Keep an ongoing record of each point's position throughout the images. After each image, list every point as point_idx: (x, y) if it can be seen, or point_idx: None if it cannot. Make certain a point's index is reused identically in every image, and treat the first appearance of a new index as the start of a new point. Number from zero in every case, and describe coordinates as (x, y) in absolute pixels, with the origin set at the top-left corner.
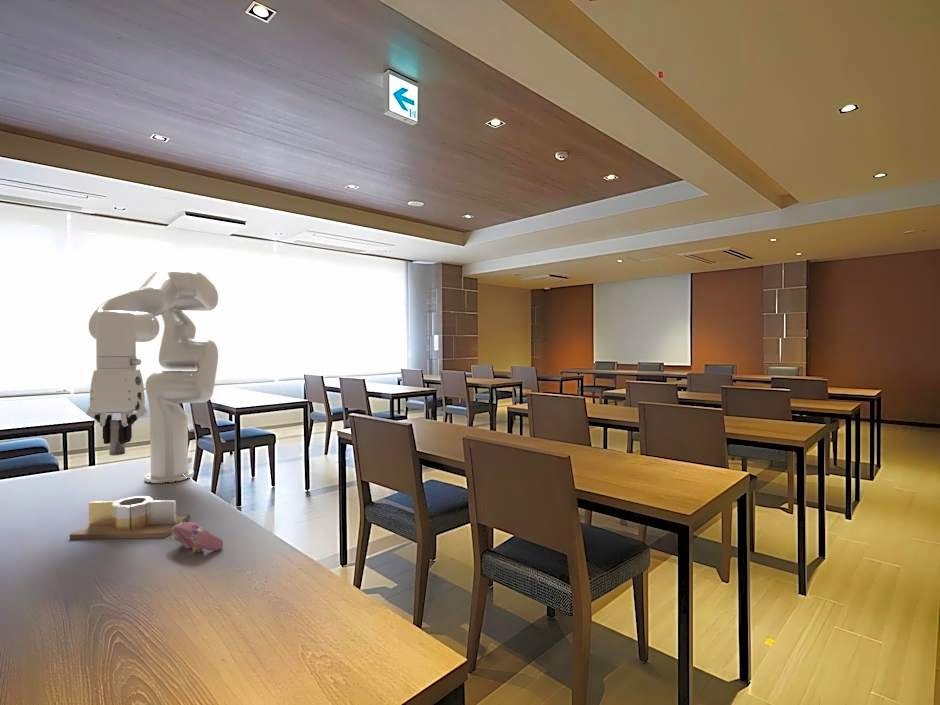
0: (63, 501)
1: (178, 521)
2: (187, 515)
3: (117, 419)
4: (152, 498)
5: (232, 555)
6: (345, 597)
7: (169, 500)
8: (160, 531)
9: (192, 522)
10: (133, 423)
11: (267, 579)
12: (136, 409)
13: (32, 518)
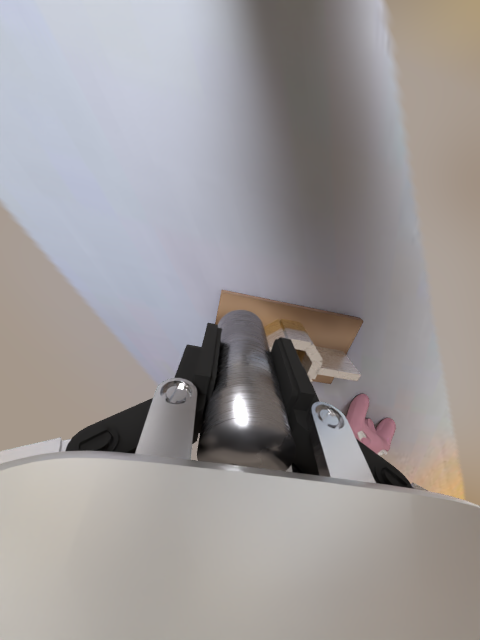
0: (51, 109)
1: (346, 348)
2: (359, 326)
3: (242, 441)
4: (321, 358)
5: (396, 432)
6: (454, 495)
7: (350, 374)
8: (324, 378)
9: (378, 447)
10: (338, 414)
11: (413, 470)
12: (435, 507)
13: (80, 246)
